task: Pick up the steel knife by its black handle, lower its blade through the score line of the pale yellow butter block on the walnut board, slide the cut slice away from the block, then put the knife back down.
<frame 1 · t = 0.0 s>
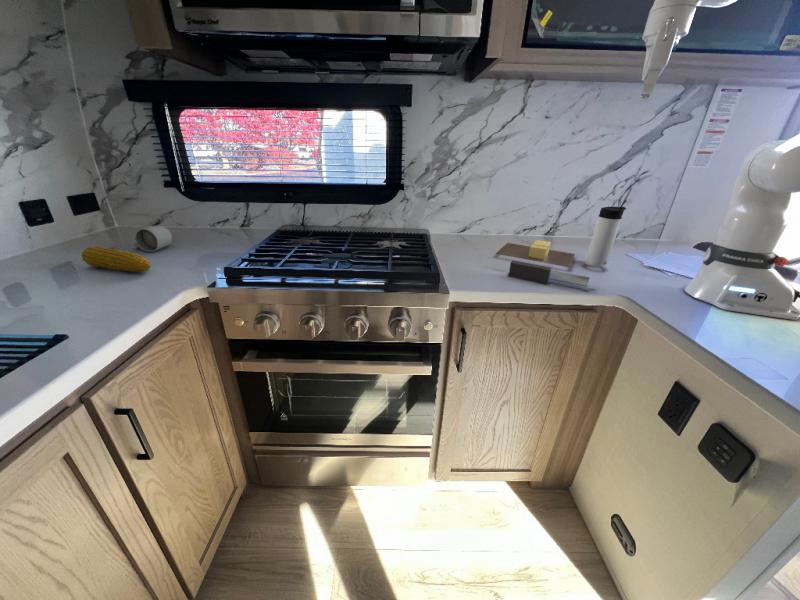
hand: (645, 96, 83), 48 cm above the worktop, tool pointing down, fingers open, 8 cm apart
butter slice: (536, 256, 114), point 1 cm above the worktop, touching cutting board
butter block: (539, 252, 118), point 1 cm above the worktop, touching cutting board
cutting board: (534, 257, 117), on the worktop
ceramic mug: (153, 249, 112), on the worktop
knife: (527, 279, 98), on the worktop
food: (121, 269, 95), on the worktop
travel mug: (594, 268, 109), on the worktop
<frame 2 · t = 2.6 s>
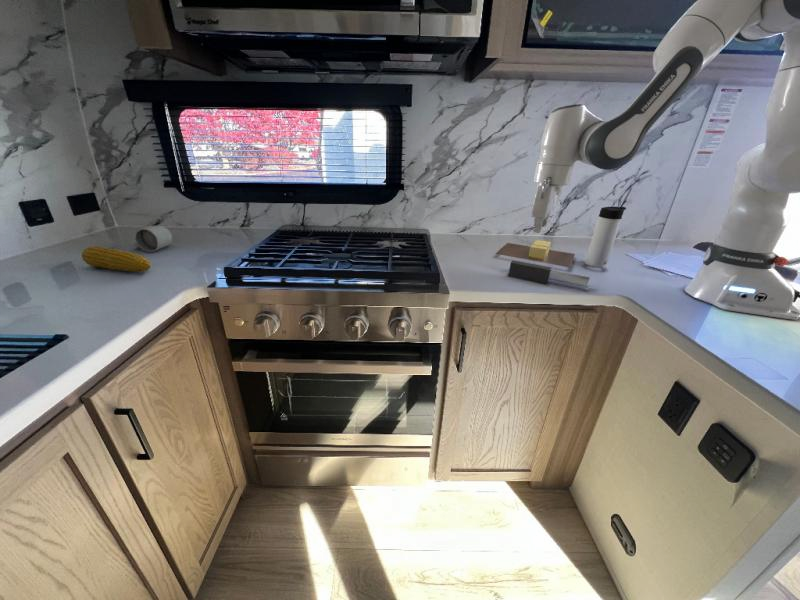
hand: (539, 228, 92), 15 cm above the worktop, tool pointing down, fingers open, 8 cm apart
nothing on the worktop moved.
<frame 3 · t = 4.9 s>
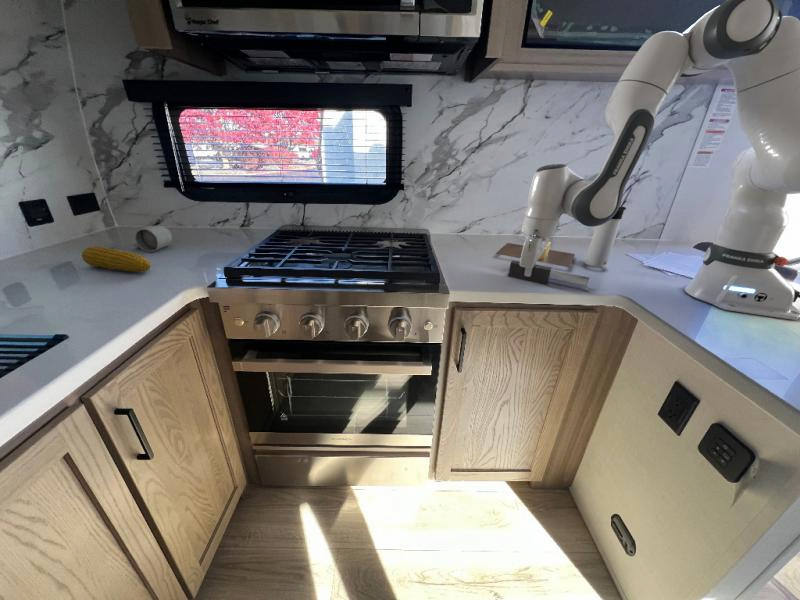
hand: (529, 273, 98), 2 cm above the worktop, tool pointing down, fingers closed on knife, 2 cm apart
knife: (527, 279, 98), on the worktop, touching gripper
everything else where it was.
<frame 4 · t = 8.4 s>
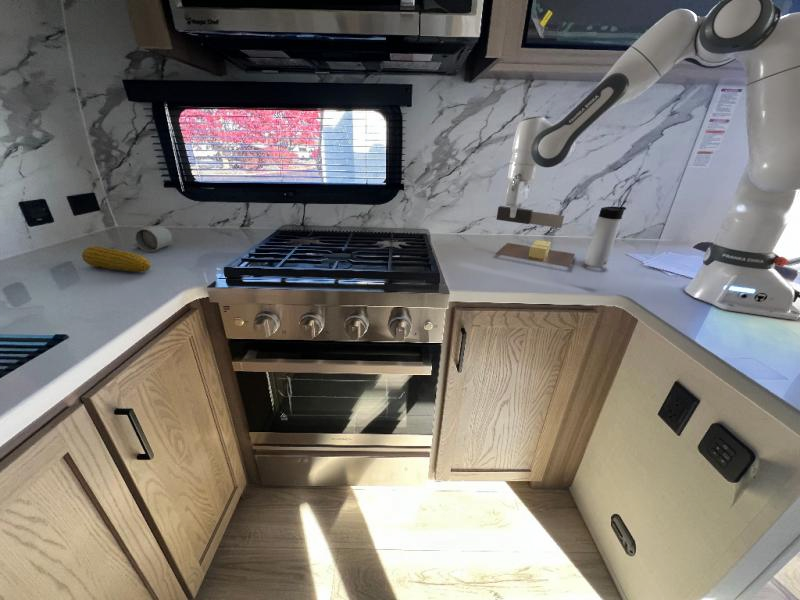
hand: (514, 216, 114), 14 cm above the worktop, tool pointing down, fingers closed on knife, 2 cm apart
knife: (513, 221, 114), point 12 cm above the worktop, touching gripper
everything else where it was.
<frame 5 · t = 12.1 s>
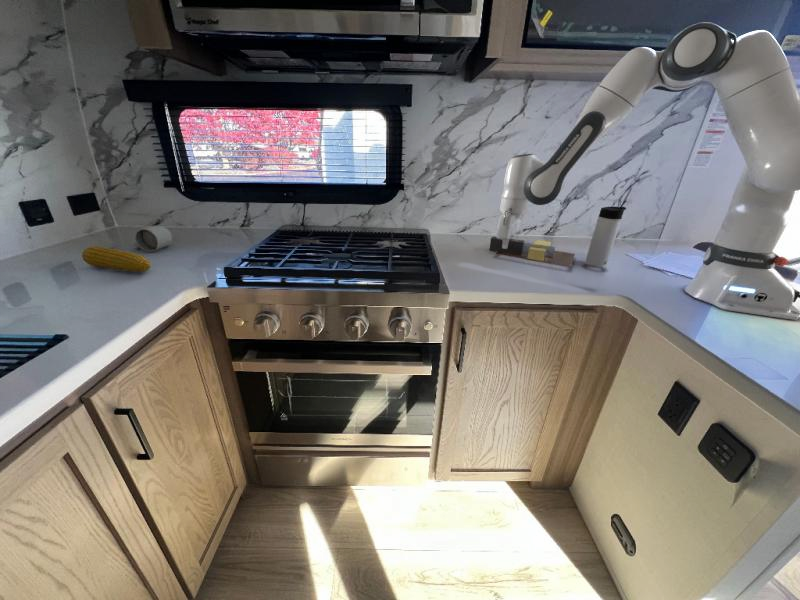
hand: (506, 246, 116), 3 cm above the worktop, tool pointing down, fingers closed on knife, 2 cm apart
butter slice: (535, 258, 112), point 1 cm above the worktop, touching cutting board, knife
knife: (505, 251, 117), point 2 cm above the worktop, touching butter slice, gripper
everything else where it was.
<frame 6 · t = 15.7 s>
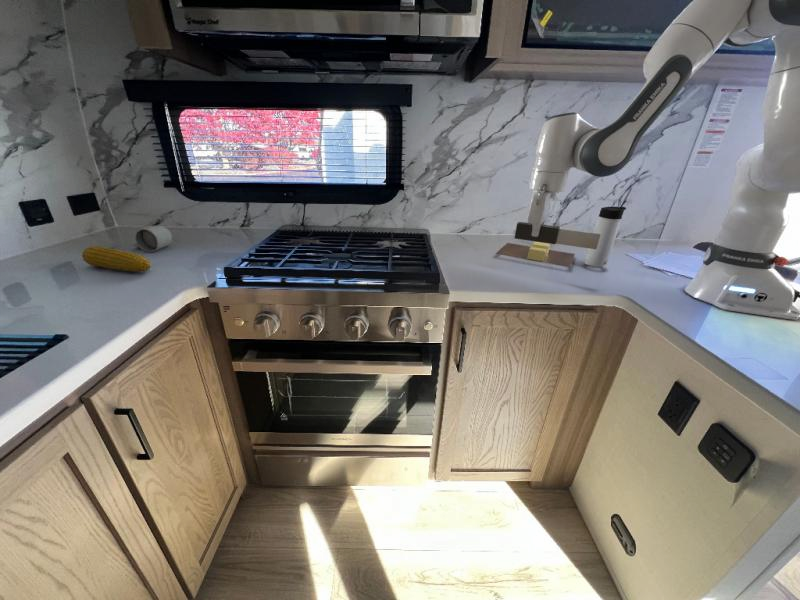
hand: (536, 234, 93), 13 cm above the worktop, tool pointing down, fingers closed on knife, 2 cm apart
butter slice: (535, 259, 111), point 1 cm above the worktop, touching cutting board
knife: (535, 240, 94), point 12 cm above the worktop, touching gripper
everything else where it was.
when the fingers open (2 cm above the worktop, at t = 18.5 s): knife stays where it is, on the worktop.
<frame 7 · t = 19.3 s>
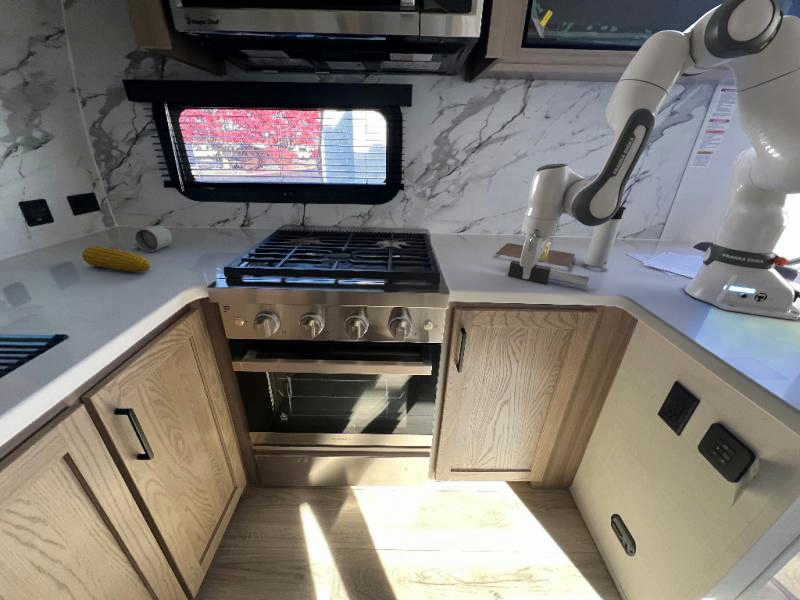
hand: (529, 273, 98), 2 cm above the worktop, tool pointing down, fingers open, 8 cm apart
knife: (527, 278, 98), on the worktop
everything else where it was.
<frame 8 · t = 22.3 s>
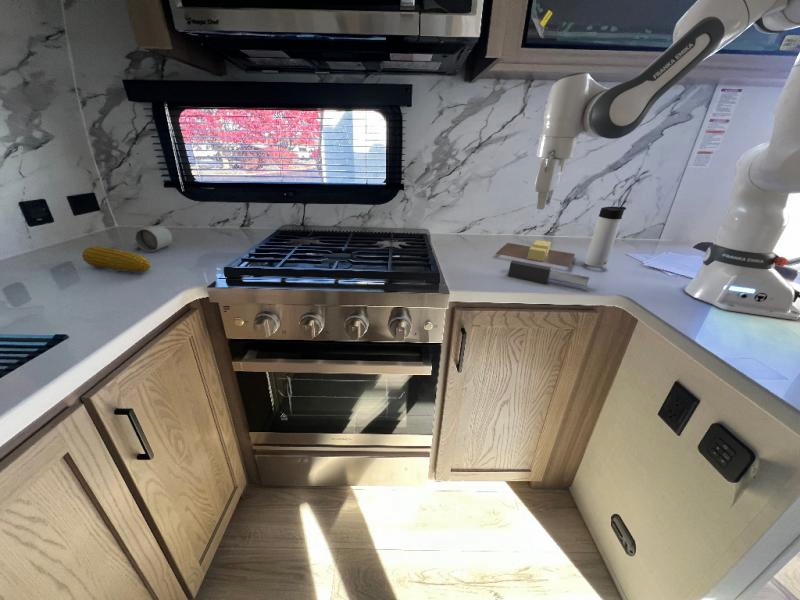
hand: (543, 206, 89), 21 cm above the worktop, tool pointing down, fingers open, 8 cm apart
nothing on the worktop moved.
at the end: butter slice 0.9 cm from the target spot on the worktop beside the butter block, resting on cutting board; butter block moved 0.0 cm from its start; knife inside the target area (0.1 cm from its centre), on the worktop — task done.
